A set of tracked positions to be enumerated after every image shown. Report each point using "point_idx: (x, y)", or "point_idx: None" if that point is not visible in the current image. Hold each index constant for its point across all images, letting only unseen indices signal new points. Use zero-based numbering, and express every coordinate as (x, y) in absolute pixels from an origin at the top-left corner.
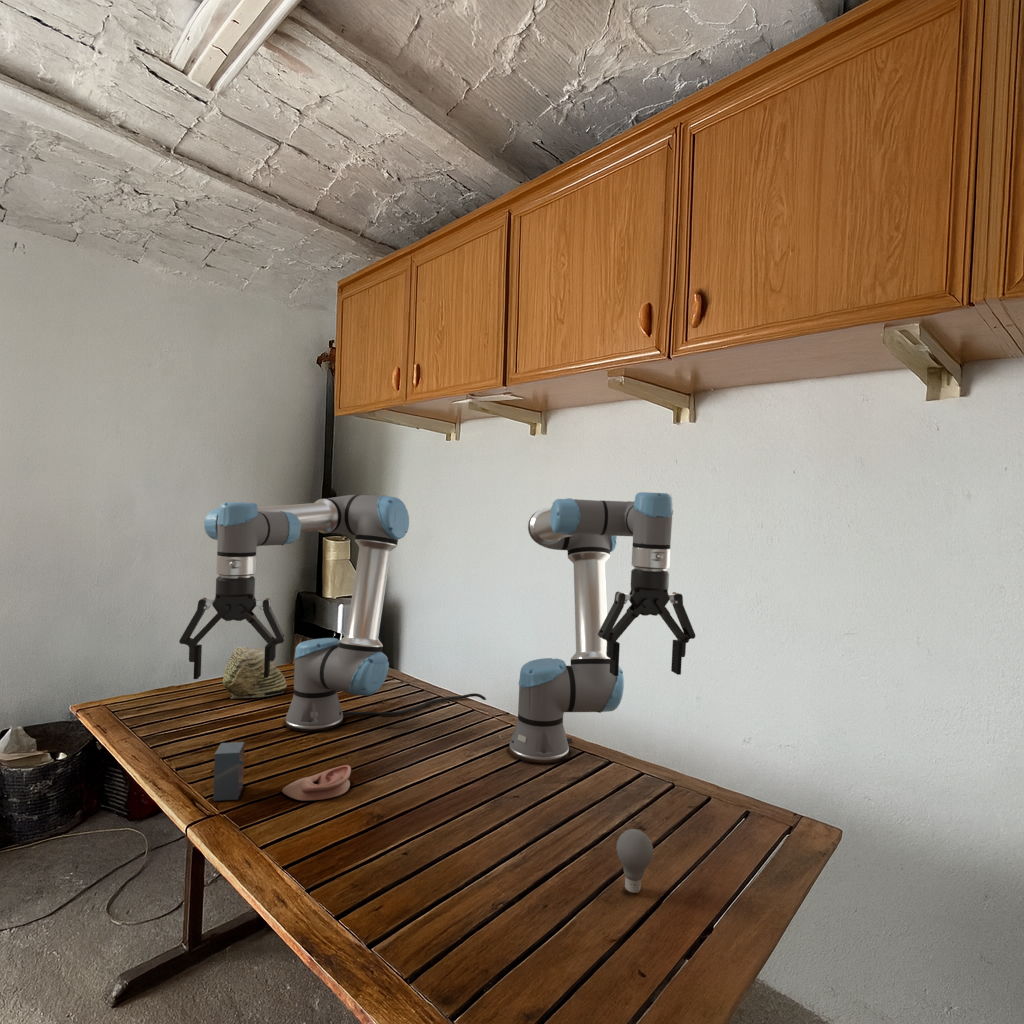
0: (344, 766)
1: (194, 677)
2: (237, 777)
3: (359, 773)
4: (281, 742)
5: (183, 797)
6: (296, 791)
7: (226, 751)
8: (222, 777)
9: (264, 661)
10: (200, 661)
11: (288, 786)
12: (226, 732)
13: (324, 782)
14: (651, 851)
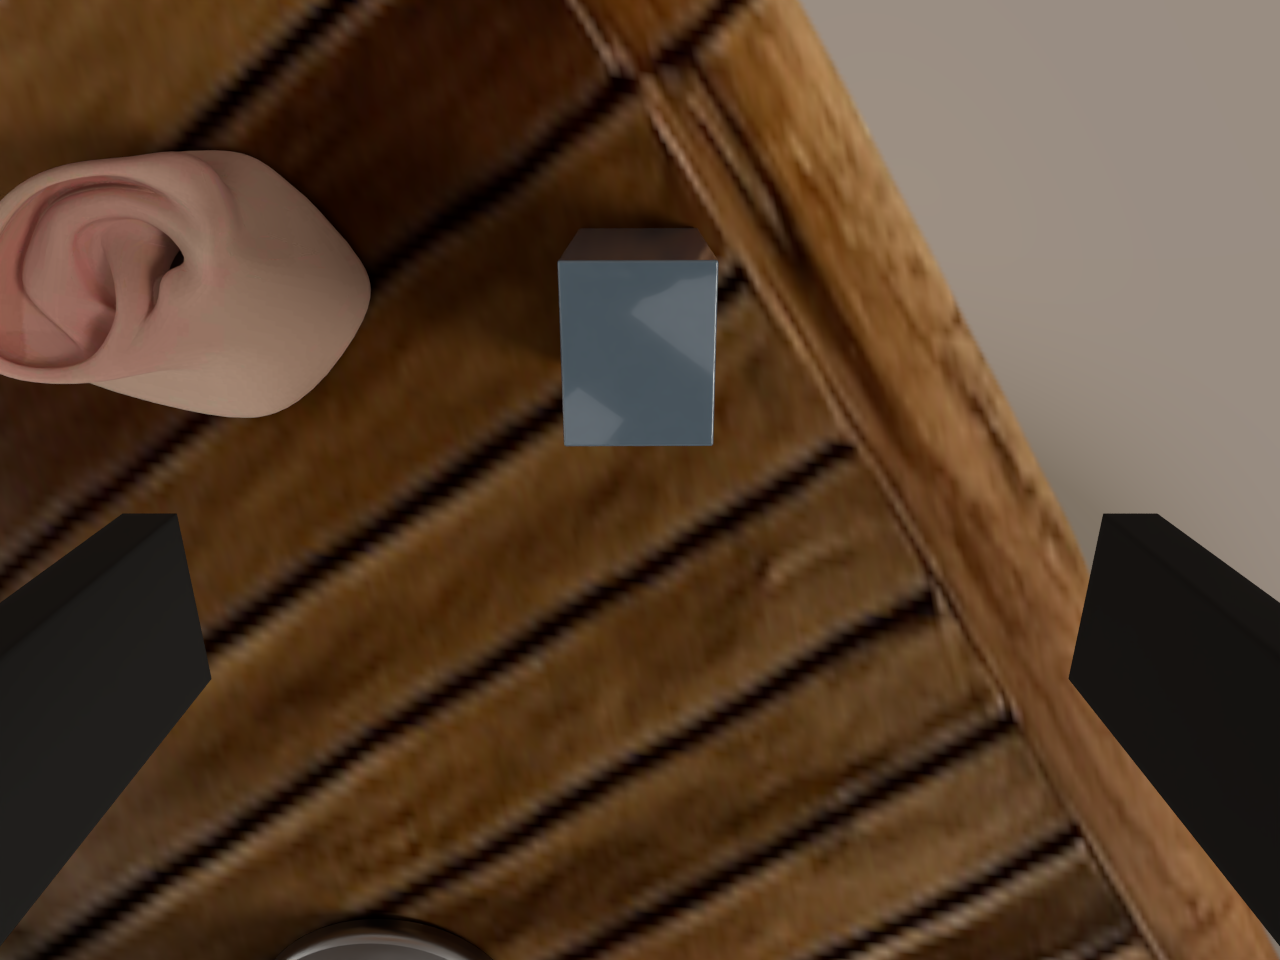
0: (11, 363)
1: (1157, 525)
2: (576, 241)
3: (25, 454)
4: (501, 830)
5: (849, 292)
6: (272, 217)
7: (648, 291)
8: (659, 240)
9: (6, 646)
10: (1203, 785)
11: (330, 283)
12: (774, 950)
13: (117, 250)
14: None
